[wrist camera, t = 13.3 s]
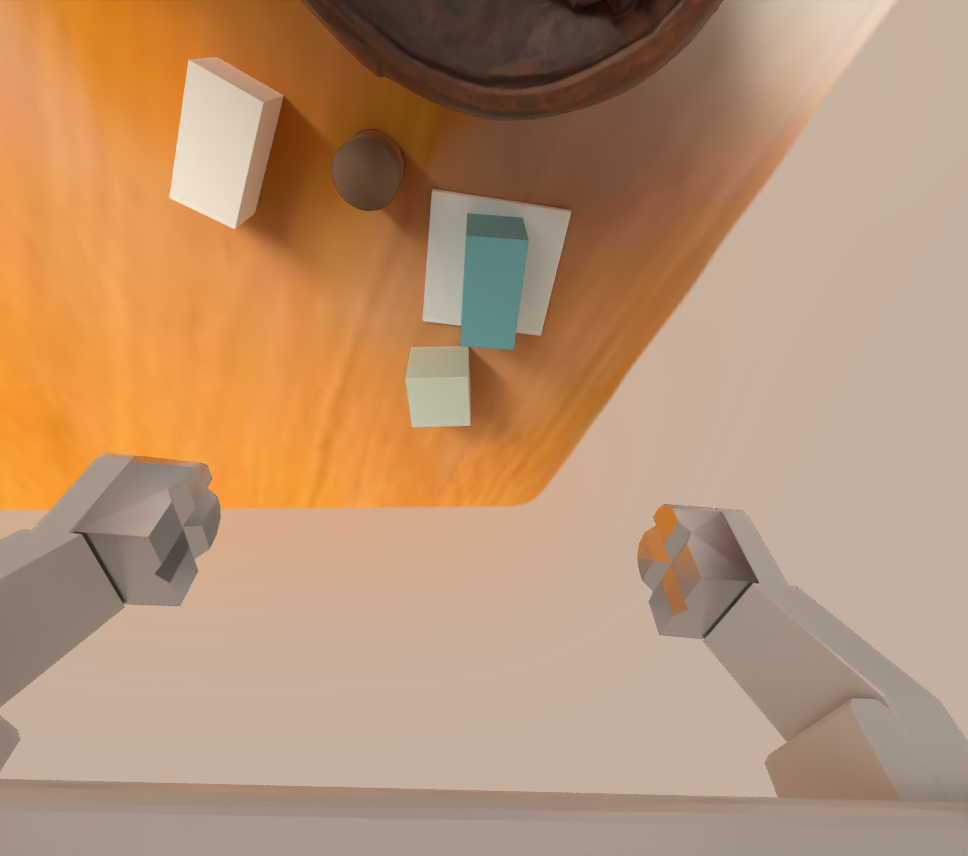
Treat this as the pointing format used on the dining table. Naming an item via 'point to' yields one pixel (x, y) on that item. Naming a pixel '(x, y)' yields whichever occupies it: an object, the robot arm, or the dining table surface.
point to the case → (514, 48)
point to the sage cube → (439, 386)
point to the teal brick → (492, 280)
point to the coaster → (449, 255)
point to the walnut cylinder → (368, 170)
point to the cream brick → (223, 141)
